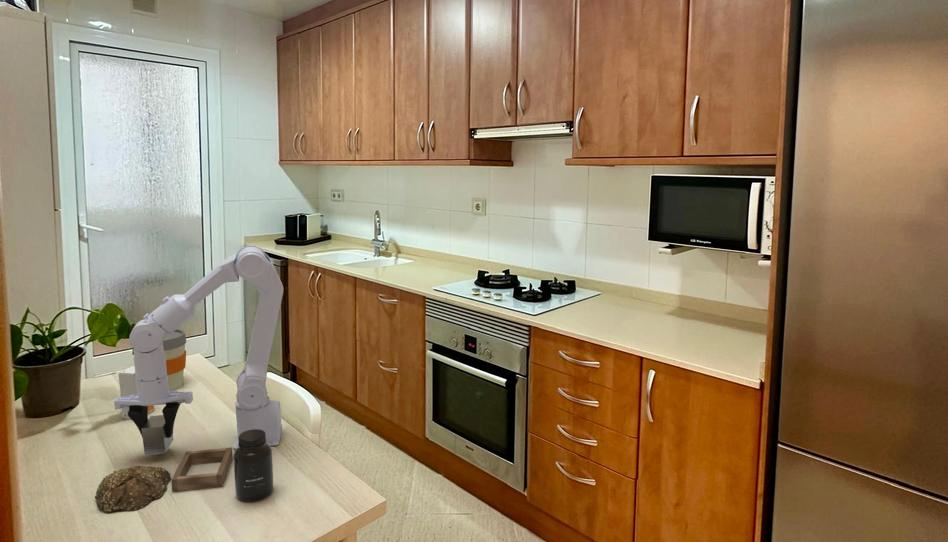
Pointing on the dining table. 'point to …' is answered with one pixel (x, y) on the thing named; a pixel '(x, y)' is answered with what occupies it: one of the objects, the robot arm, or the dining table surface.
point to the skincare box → (129, 387)
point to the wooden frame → (202, 480)
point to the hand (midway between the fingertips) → (158, 436)
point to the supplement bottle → (253, 466)
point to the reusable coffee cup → (175, 358)
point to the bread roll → (132, 488)
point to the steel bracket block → (155, 436)
